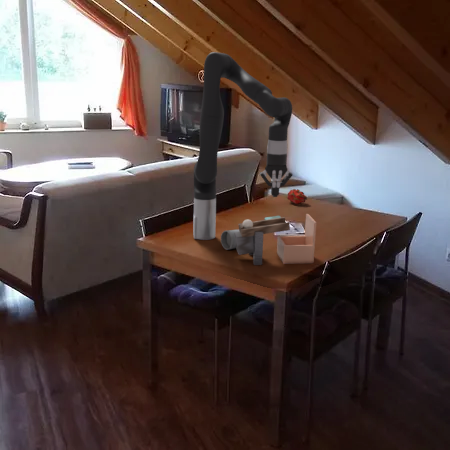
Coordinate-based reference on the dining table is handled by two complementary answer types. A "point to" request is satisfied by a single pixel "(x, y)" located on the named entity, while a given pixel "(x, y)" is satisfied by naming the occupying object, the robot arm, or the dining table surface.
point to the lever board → (267, 226)
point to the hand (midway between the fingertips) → (274, 196)
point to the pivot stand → (257, 247)
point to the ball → (247, 224)
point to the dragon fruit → (296, 196)
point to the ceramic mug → (228, 239)
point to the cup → (298, 245)
